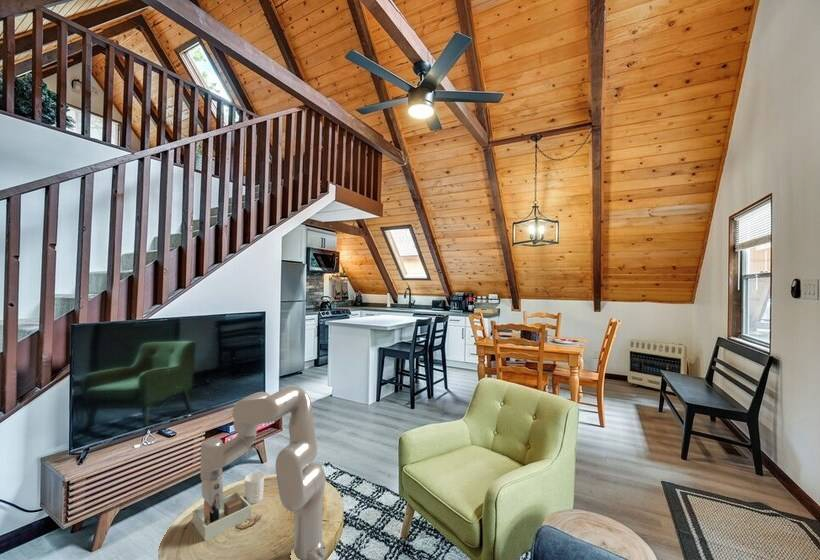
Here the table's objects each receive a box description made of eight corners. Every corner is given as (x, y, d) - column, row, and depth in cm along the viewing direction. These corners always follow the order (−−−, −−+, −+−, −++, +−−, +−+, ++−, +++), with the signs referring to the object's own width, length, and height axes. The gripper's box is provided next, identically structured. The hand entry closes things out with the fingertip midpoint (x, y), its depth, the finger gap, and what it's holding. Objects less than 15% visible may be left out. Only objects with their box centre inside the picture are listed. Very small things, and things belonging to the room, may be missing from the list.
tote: (250, 517, 147) (251, 505, 147) (204, 540, 135) (205, 527, 134) (237, 503, 156) (237, 491, 156) (192, 523, 143) (192, 511, 143)
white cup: (255, 506, 154) (255, 483, 154) (240, 502, 157) (240, 479, 156) (268, 495, 162) (268, 473, 161) (253, 491, 164) (254, 470, 164)
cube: (241, 514, 148) (241, 502, 148) (228, 520, 145) (228, 508, 145) (236, 508, 152) (236, 496, 152) (223, 514, 148) (223, 502, 148)
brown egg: (207, 525, 139) (207, 507, 139) (202, 519, 142) (201, 502, 142) (220, 518, 143) (220, 501, 142) (215, 512, 146) (215, 496, 146)
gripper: (230, 476, 139) (230, 523, 139) (213, 460, 150) (213, 503, 151) (209, 485, 133) (209, 533, 134) (193, 467, 145) (193, 511, 145)
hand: (211, 516), depth 142 cm, fingers closed on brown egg, 5 cm apart
